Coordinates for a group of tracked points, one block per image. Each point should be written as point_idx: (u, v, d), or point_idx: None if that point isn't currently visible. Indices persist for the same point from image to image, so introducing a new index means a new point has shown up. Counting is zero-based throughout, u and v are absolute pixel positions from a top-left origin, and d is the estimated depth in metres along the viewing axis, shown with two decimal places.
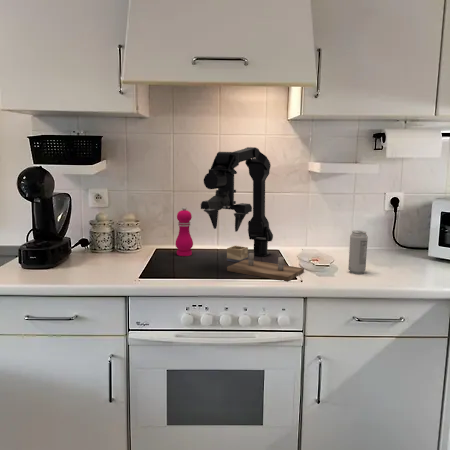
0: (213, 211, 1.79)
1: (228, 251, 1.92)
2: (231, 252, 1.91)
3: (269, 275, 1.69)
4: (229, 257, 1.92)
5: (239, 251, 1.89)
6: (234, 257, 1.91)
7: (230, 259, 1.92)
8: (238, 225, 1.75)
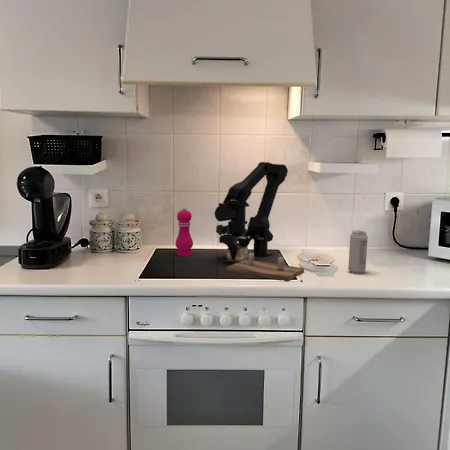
0: (241, 240, 1.96)
1: (228, 251, 1.92)
2: None
3: (269, 275, 1.69)
4: (229, 257, 1.92)
5: (239, 251, 1.89)
6: None
7: (230, 259, 1.92)
8: (232, 253, 1.90)
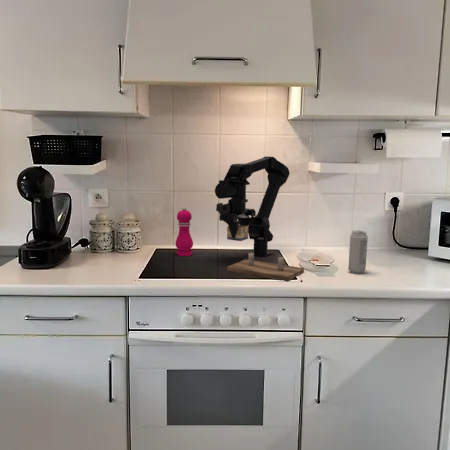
0: (241, 219, 1.94)
1: (228, 229, 1.91)
2: None
3: (269, 275, 1.69)
4: (229, 236, 1.91)
5: (239, 229, 1.88)
6: None
7: (230, 238, 1.90)
8: (232, 232, 1.88)
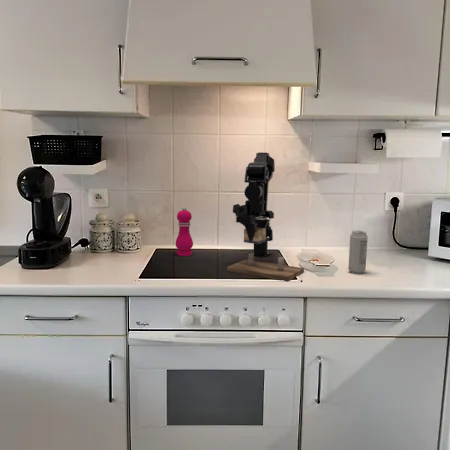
0: (259, 221, 1.86)
1: (245, 232, 1.82)
2: None
3: (269, 275, 1.69)
4: (246, 238, 1.82)
5: (257, 232, 1.79)
6: None
7: (247, 240, 1.82)
8: (249, 234, 1.80)
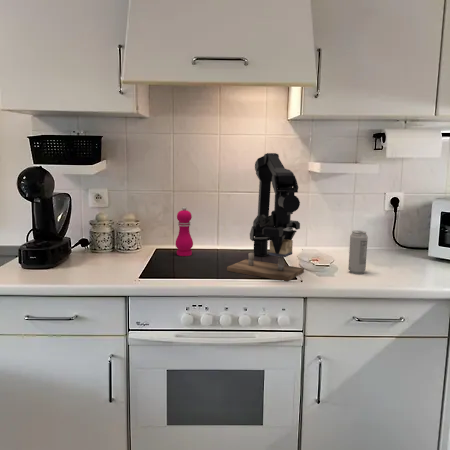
0: (285, 232, 1.75)
1: (270, 244, 1.71)
2: None
3: (269, 275, 1.69)
4: (272, 251, 1.72)
5: (284, 244, 1.69)
6: None
7: (273, 253, 1.71)
8: (276, 247, 1.69)
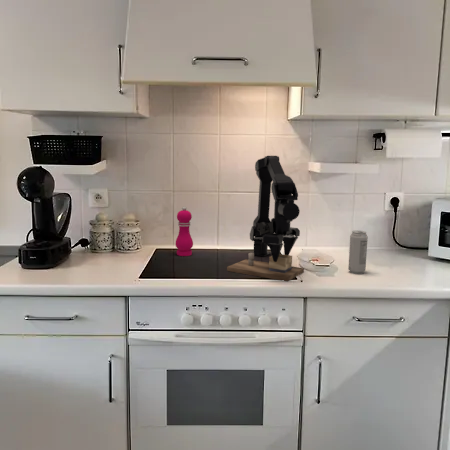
0: (286, 238, 1.77)
1: (270, 260, 1.72)
2: None
3: (269, 275, 1.69)
4: (272, 267, 1.72)
5: (283, 260, 1.70)
6: (278, 266, 1.71)
7: (273, 269, 1.72)
8: (274, 255, 1.69)
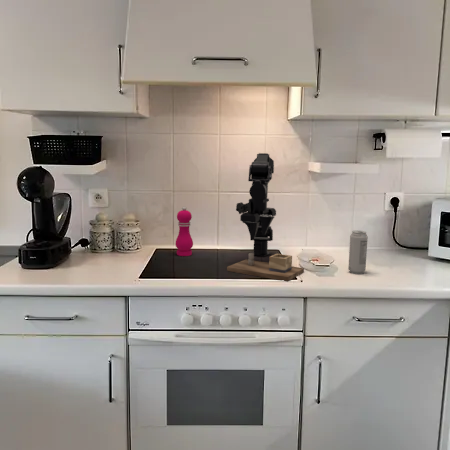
0: (263, 218, 1.89)
1: (270, 260, 1.72)
2: (274, 261, 1.72)
3: (269, 275, 1.69)
4: (272, 267, 1.72)
5: (283, 260, 1.70)
6: (278, 266, 1.71)
7: (273, 269, 1.72)
8: (251, 233, 1.81)
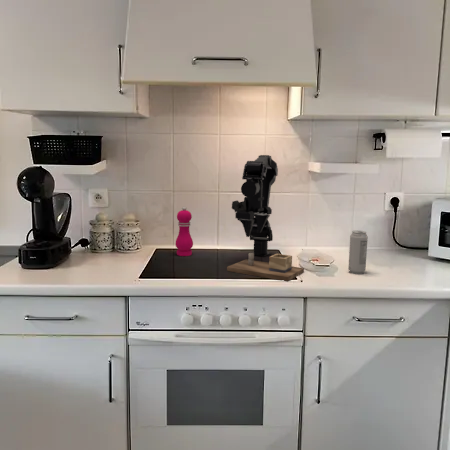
0: (259, 216, 1.92)
1: (270, 260, 1.72)
2: (274, 261, 1.72)
3: (269, 275, 1.69)
4: (272, 267, 1.72)
5: (283, 260, 1.70)
6: (278, 266, 1.71)
7: (273, 269, 1.72)
8: (246, 231, 1.83)
